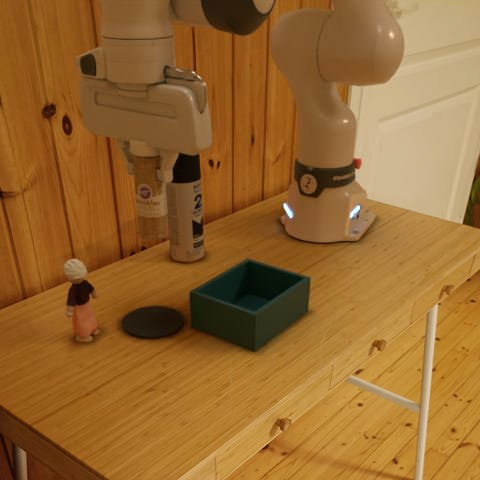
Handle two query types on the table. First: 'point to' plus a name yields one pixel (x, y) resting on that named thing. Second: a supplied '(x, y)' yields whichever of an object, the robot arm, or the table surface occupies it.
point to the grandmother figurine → (80, 301)
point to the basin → (249, 303)
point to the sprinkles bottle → (149, 191)
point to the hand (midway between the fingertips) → (149, 177)
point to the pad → (153, 322)
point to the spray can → (185, 210)
